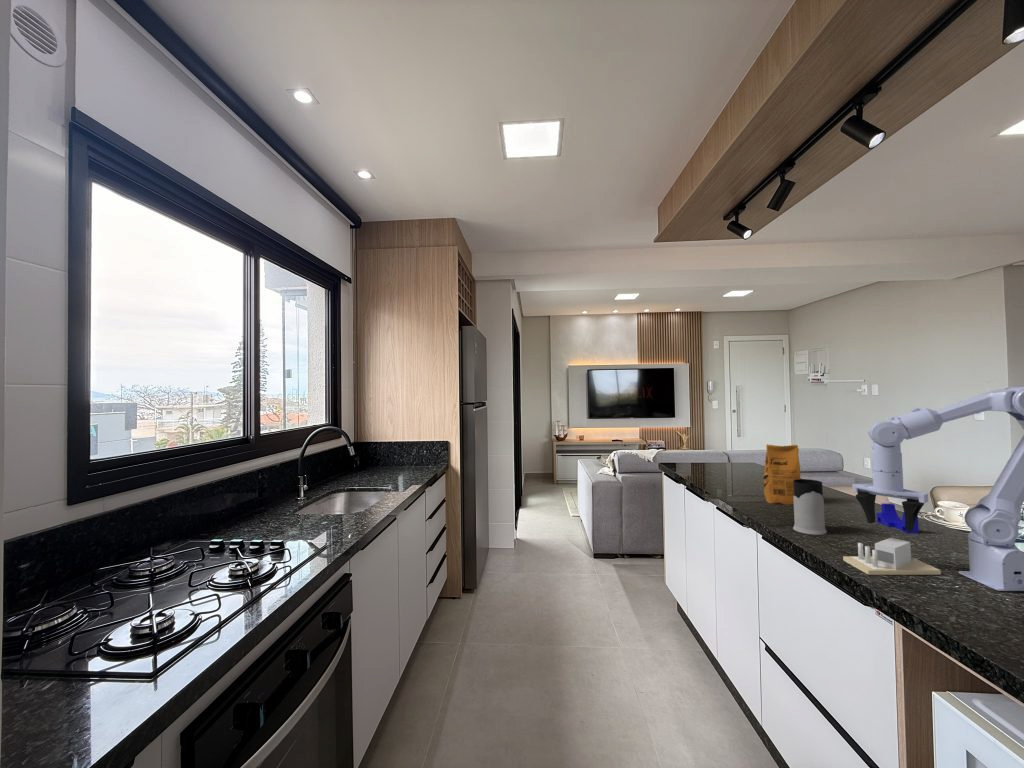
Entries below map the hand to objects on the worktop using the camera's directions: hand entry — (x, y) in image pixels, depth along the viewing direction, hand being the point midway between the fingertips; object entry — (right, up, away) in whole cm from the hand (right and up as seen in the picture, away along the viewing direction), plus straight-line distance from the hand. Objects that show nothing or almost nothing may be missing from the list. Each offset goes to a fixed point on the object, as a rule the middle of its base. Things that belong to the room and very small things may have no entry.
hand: (889, 526), depth 110 cm
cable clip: (+27, -10, +29) cm, 41 cm away
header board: (0, -10, 0) cm, 10 cm away
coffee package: (+12, -11, +63) cm, 65 cm away
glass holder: (0, -11, +32) cm, 34 cm away
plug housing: (+3, -9, +1) cm, 9 cm away
